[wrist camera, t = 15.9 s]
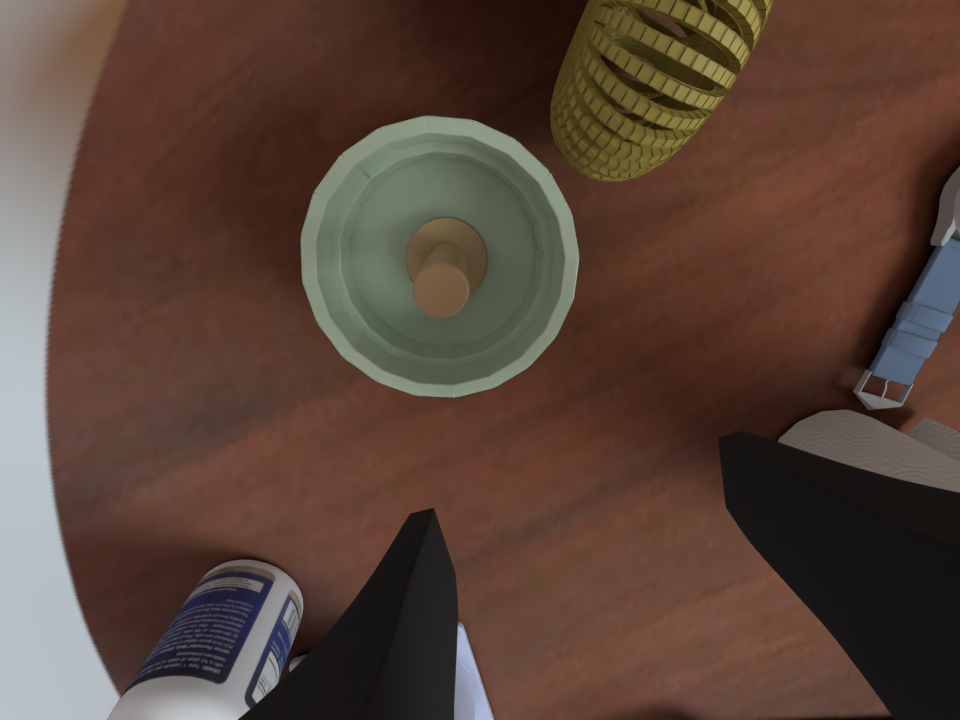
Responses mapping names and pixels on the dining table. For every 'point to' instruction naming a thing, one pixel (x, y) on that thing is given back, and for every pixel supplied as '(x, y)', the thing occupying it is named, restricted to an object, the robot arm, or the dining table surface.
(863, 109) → the dining table surface
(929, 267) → the wristwatch
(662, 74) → the sculpture
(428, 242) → the stirrer
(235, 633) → the pill bottle
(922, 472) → the paper towel roll
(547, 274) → the bowl
